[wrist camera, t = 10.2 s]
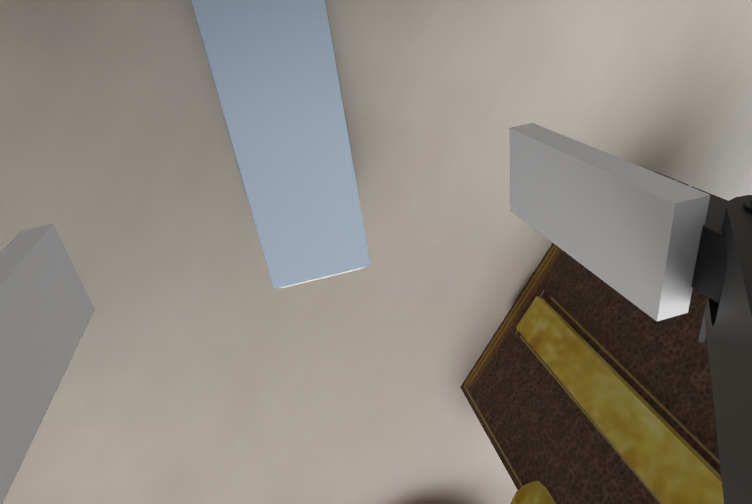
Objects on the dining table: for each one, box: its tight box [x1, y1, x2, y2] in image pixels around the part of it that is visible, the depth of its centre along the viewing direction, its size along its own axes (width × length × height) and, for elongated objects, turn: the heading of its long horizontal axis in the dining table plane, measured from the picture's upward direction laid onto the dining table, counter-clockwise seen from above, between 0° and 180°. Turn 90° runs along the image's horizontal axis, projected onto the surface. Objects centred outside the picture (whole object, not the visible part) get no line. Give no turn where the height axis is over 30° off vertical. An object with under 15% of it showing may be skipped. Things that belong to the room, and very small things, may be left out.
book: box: [461, 243, 724, 504], centre depth 31 cm, size 22×8×25 cm, turn 153°
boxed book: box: [191, 0, 370, 289], centre depth 26 cm, size 5×14×9 cm, turn 8°
